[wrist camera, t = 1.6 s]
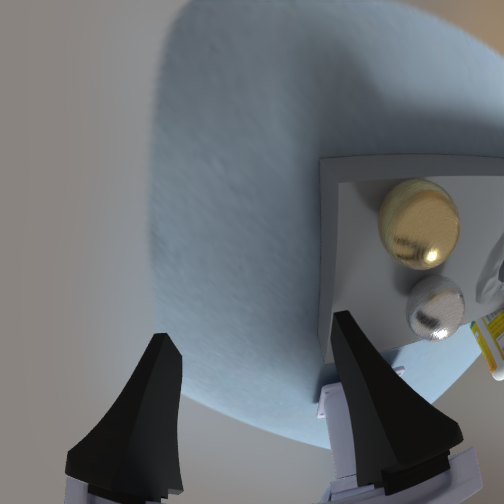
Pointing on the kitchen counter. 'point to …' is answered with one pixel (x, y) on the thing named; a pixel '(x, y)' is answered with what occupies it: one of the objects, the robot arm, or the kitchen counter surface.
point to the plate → (379, 261)
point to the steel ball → (435, 308)
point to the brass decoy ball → (418, 224)
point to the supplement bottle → (491, 340)
